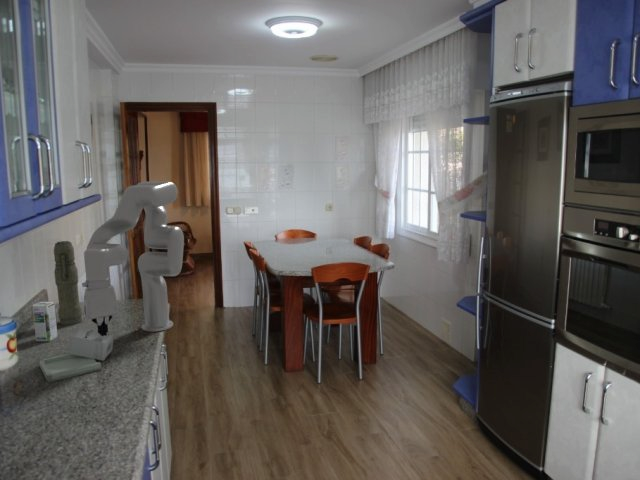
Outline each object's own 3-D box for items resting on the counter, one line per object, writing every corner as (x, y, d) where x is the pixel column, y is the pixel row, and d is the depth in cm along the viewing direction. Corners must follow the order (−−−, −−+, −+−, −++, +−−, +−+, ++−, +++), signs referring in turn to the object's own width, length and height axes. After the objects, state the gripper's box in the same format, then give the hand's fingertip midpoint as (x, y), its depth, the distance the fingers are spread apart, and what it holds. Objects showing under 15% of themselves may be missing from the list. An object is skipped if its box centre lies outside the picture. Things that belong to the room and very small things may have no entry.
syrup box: (35, 341, 200) (31, 305, 198) (44, 336, 206) (40, 301, 204) (49, 341, 200) (45, 305, 197) (58, 336, 206) (54, 301, 203)
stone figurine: (81, 316, 230) (74, 239, 224) (82, 324, 219) (75, 243, 213) (59, 319, 226) (51, 240, 220) (59, 327, 216) (50, 245, 210)
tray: (39, 366, 177) (38, 360, 176) (89, 354, 186) (88, 349, 186) (48, 382, 164) (47, 376, 164) (101, 369, 174) (100, 363, 173)
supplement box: (105, 343, 178) (68, 336, 178) (103, 361, 181) (67, 354, 180) (114, 332, 185) (78, 325, 185) (112, 350, 188) (77, 343, 187)
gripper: (77, 289, 170) (82, 342, 173) (124, 282, 179) (128, 333, 182) (72, 285, 176) (77, 336, 179) (117, 278, 185) (122, 327, 188)
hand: (103, 334), depth 180 cm, fingers closed
